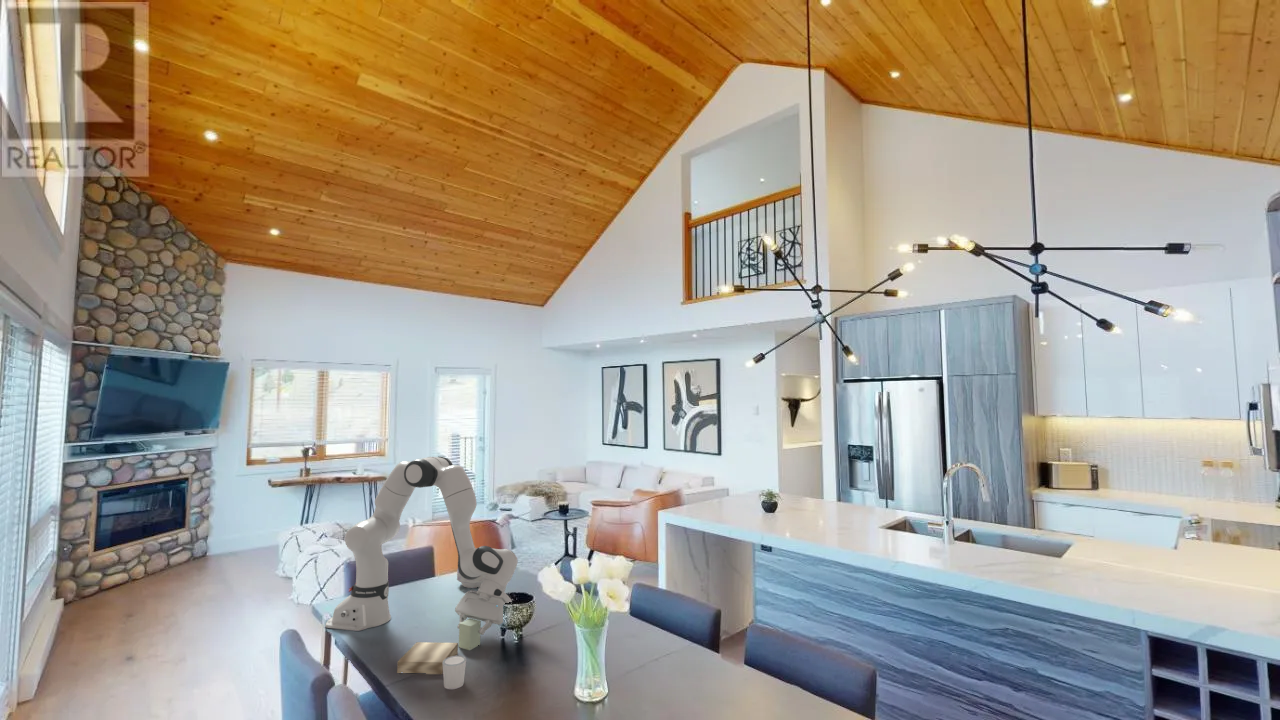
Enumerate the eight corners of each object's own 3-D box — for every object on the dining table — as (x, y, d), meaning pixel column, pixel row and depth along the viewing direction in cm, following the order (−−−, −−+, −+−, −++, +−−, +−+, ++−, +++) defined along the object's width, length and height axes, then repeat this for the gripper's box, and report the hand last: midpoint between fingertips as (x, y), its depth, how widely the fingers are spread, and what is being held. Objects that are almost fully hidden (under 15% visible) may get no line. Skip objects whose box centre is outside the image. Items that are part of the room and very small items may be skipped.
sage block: (458, 647, 192) (459, 623, 192) (469, 641, 196) (469, 618, 197) (469, 650, 190) (470, 626, 190) (480, 644, 194) (480, 620, 195)
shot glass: (470, 680, 169) (471, 657, 169) (456, 692, 162) (456, 667, 163) (451, 677, 171) (452, 653, 172) (436, 688, 165) (437, 663, 165)
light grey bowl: (497, 581, 262) (497, 563, 262) (480, 591, 247) (481, 573, 248) (468, 578, 265) (468, 561, 266) (449, 589, 251) (450, 571, 251)
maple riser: (397, 675, 173) (397, 661, 174) (416, 654, 187) (416, 642, 188) (441, 675, 173) (442, 662, 173) (457, 655, 187) (457, 642, 187)
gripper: (464, 584, 205) (443, 621, 196) (507, 593, 196) (488, 632, 187) (472, 593, 209) (452, 630, 200) (515, 602, 200) (496, 641, 191)
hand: (469, 631), depth 193 cm, fingers open, 8 cm apart
